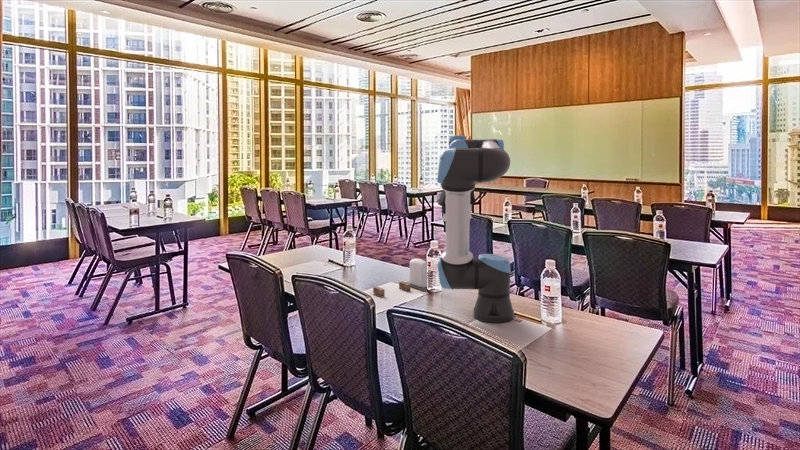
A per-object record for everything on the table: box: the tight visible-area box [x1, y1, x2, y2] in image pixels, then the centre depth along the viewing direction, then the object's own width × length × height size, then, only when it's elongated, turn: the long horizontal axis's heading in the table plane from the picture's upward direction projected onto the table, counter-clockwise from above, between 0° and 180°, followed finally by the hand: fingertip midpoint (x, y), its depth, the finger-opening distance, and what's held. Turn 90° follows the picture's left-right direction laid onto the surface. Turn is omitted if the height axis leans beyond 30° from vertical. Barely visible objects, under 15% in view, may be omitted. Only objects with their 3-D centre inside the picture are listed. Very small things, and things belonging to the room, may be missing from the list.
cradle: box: [372, 281, 412, 297], centre depth 221 cm, size 6×16×3 cm, turn 126°
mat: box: [405, 281, 428, 292], centre depth 230 cm, size 16×6×1 cm, turn 36°
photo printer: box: [409, 258, 428, 288], centre depth 229 cm, size 10×4×12 cm, turn 36°
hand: (457, 219), depth 220 cm, fingers open, 13 cm apart
